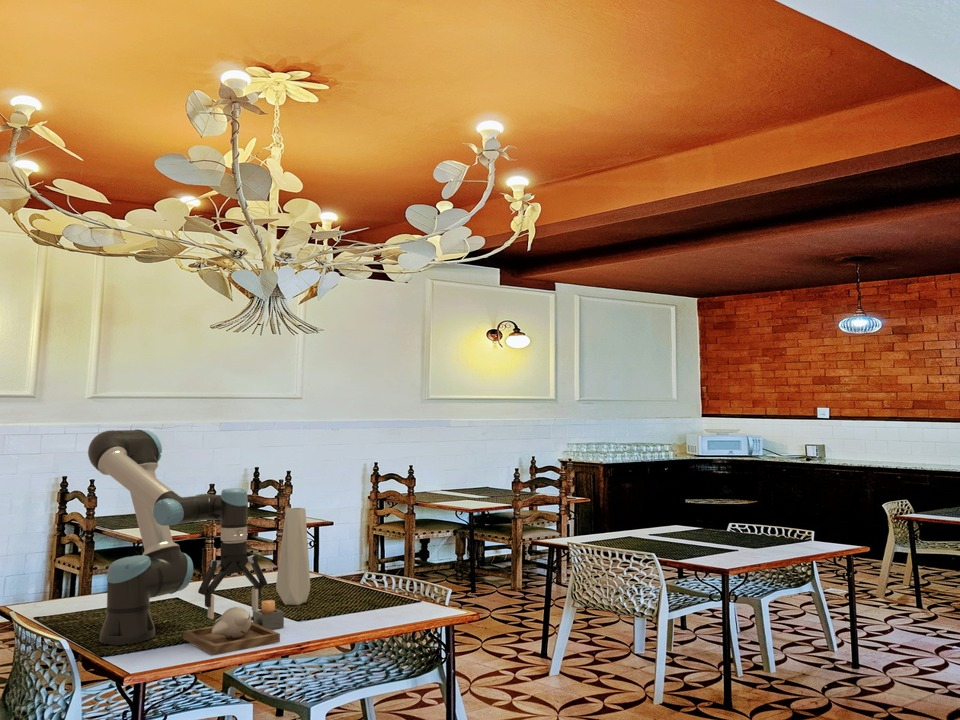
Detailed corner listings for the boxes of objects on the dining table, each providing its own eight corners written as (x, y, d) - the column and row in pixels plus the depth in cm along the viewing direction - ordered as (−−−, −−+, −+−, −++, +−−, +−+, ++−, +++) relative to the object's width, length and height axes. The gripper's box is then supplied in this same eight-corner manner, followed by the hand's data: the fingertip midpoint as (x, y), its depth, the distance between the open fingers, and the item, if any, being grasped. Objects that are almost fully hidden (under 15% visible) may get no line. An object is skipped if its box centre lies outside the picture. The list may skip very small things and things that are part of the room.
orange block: (265, 620, 252) (265, 603, 253) (259, 617, 255) (259, 601, 256) (277, 617, 255) (277, 601, 255) (271, 615, 258) (271, 599, 258)
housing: (262, 631, 250) (262, 615, 250) (252, 627, 255) (252, 611, 256) (283, 627, 255) (283, 611, 255) (273, 623, 260) (273, 607, 260)
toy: (225, 646, 247) (207, 648, 233) (216, 618, 250) (199, 618, 235) (266, 629, 248) (252, 629, 234) (258, 600, 251) (243, 599, 237)
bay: (212, 655, 225) (212, 646, 225) (183, 639, 242) (183, 631, 242) (279, 642, 238) (279, 633, 238) (247, 628, 255) (247, 620, 255)
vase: (300, 608, 282) (301, 510, 284) (271, 605, 286) (272, 510, 288) (319, 600, 293) (319, 507, 296) (291, 598, 297) (291, 506, 300)
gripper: (197, 547, 233) (196, 623, 231) (278, 538, 249) (278, 609, 247) (187, 544, 238) (186, 619, 237) (267, 535, 254) (266, 605, 253)
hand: (233, 614), depth 242 cm, fingers open, 13 cm apart
